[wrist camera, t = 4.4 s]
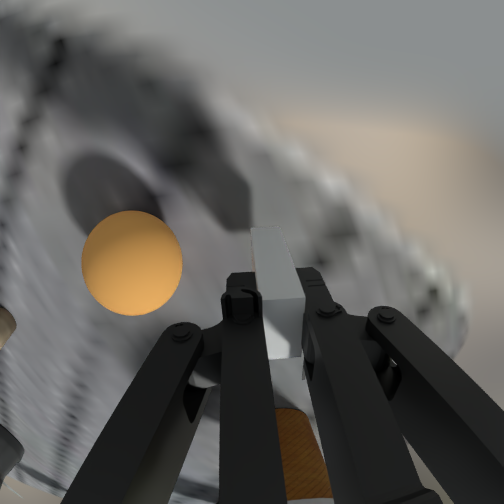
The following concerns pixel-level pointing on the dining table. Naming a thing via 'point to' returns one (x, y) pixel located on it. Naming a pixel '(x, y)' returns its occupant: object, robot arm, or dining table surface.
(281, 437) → the disposable coffee cup
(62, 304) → the dining table surface
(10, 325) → the post
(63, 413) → the dining table surface
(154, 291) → the ball
